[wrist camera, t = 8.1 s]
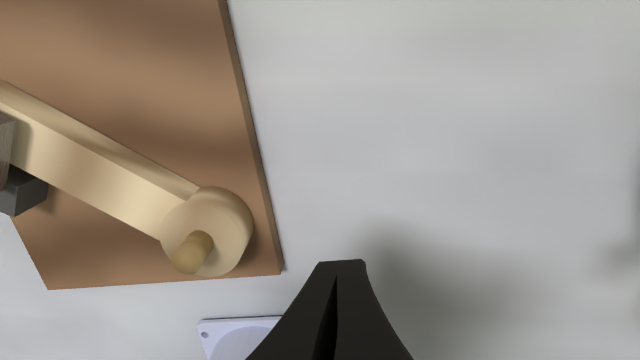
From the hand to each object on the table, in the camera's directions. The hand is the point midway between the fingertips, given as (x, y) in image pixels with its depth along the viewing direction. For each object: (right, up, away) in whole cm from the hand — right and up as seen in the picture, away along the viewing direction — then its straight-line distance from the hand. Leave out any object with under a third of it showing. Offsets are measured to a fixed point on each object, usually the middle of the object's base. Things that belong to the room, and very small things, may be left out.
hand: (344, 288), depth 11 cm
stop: (-17, +3, +10) cm, 21 cm away
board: (-12, +5, +10) cm, 17 cm away
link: (-11, +3, +10) cm, 15 cm away
